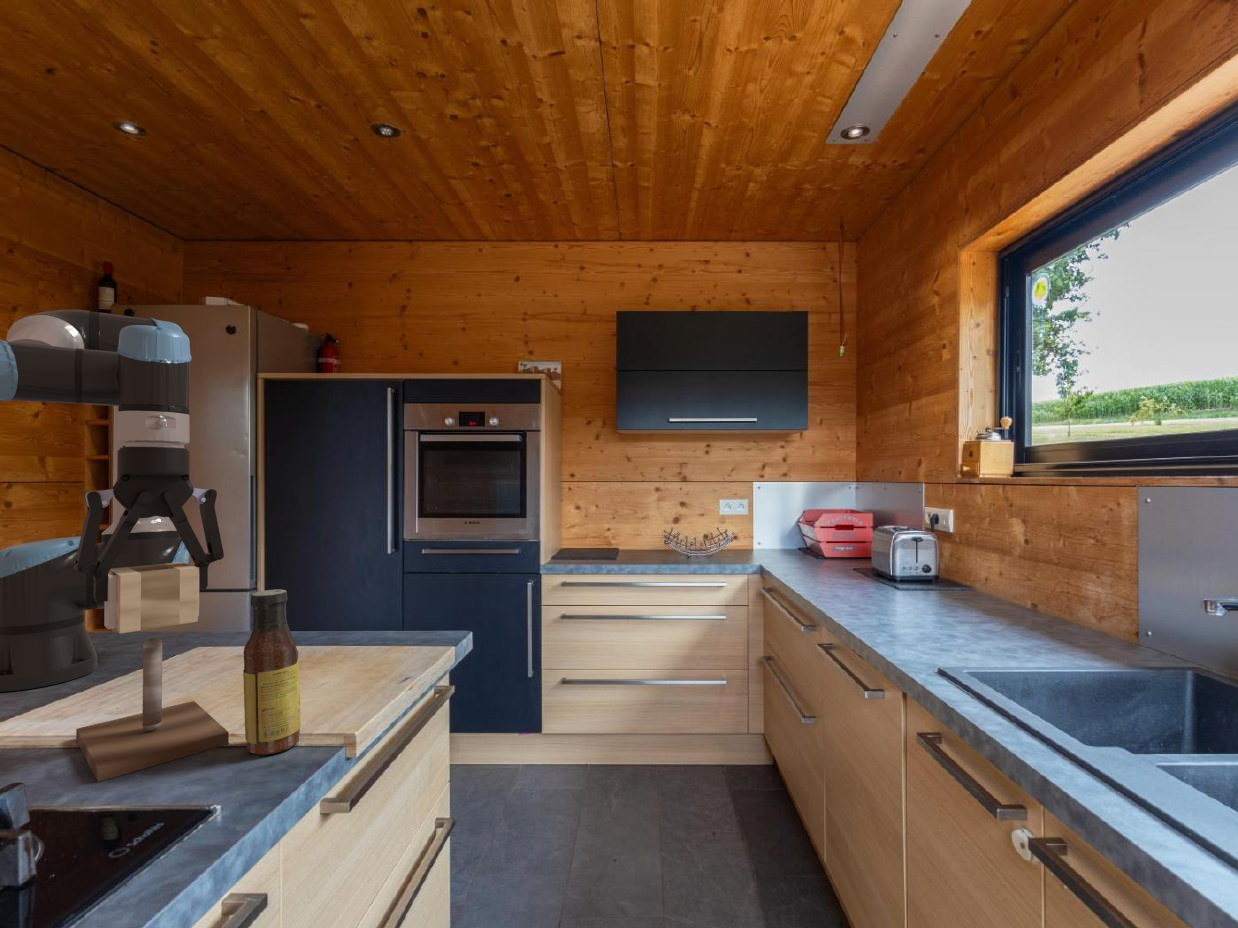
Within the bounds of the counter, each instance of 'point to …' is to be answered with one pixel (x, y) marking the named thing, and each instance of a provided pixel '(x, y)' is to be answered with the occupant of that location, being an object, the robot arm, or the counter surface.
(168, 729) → the rod stand
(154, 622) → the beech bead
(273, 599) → the sauce bottle
